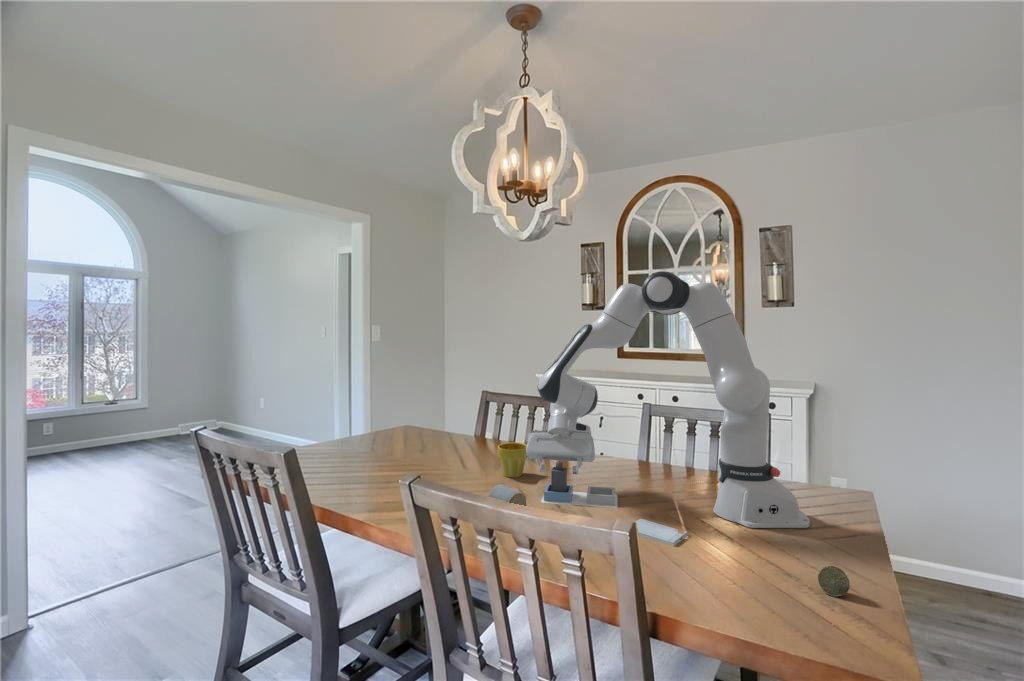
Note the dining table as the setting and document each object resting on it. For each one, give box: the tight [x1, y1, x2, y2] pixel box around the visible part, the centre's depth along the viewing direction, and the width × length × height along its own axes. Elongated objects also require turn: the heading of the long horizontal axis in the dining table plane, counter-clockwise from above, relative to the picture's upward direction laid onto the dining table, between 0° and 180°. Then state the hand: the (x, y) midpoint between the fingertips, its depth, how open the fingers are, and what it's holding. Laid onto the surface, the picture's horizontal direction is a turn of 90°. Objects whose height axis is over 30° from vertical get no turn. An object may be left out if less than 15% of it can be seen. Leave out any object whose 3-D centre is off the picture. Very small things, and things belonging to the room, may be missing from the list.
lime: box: [817, 565, 851, 597], centre depth 95 cm, size 4×5×5 cm
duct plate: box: [540, 483, 618, 509], centre depth 145 cm, size 21×11×4 cm, turn 78°
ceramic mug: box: [488, 483, 529, 506], centre depth 135 cm, size 11×8×8 cm
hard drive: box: [635, 518, 689, 547], centre depth 123 cm, size 2×8×12 cm
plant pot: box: [497, 442, 528, 478], centre depth 171 cm, size 10×10×10 cm
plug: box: [550, 461, 568, 492], centre depth 146 cm, size 4×4×10 cm
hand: (558, 472), depth 145 cm, fingers open, 8 cm apart
